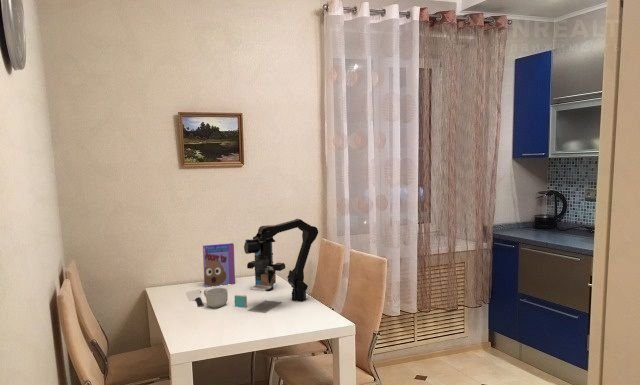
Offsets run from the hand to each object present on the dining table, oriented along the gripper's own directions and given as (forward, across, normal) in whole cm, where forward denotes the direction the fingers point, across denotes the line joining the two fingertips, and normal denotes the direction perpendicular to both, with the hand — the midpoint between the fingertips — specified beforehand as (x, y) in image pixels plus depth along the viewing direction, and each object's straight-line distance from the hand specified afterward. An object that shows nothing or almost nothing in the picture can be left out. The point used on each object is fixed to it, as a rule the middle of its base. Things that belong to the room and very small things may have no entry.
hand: (266, 282), depth 220 cm
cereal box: (+12, -48, +28) cm, 57 cm away
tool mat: (+12, 0, -2) cm, 12 cm away
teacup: (+12, -26, -7) cm, 29 cm away
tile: (+12, -11, -6) cm, 17 cm away
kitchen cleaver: (+12, -44, -1) cm, 45 cm away
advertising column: (+12, -17, +27) cm, 34 cm away
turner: (+1, 0, -1) cm, 2 cm away
